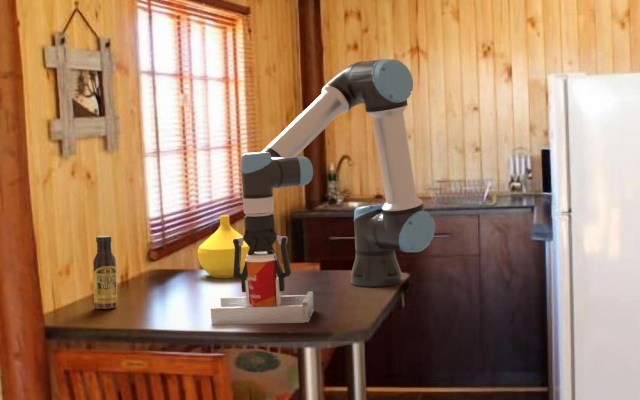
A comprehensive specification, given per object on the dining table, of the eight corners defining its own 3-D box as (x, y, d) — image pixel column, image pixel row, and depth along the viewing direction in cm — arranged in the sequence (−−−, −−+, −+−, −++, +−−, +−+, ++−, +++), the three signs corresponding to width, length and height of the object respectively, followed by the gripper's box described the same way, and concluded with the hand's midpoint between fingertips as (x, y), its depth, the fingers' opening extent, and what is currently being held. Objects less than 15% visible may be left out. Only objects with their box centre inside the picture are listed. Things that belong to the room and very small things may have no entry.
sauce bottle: (97, 311, 253) (92, 238, 251) (92, 307, 259) (87, 236, 257) (121, 308, 256) (116, 236, 254) (115, 304, 262) (110, 233, 260)
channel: (313, 310, 243) (312, 291, 242) (308, 322, 230) (307, 302, 229) (222, 312, 245) (221, 293, 245) (211, 324, 232) (210, 304, 231)
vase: (225, 268, 313) (222, 211, 311) (268, 272, 302) (265, 213, 300) (186, 278, 298) (183, 218, 296) (230, 282, 287) (227, 220, 285)
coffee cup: (247, 309, 241) (244, 252, 240) (279, 307, 242) (276, 250, 240) (248, 317, 233) (244, 257, 231) (281, 314, 234) (277, 255, 232)
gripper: (300, 210, 238) (304, 300, 240) (222, 213, 240) (228, 302, 242) (296, 214, 230) (301, 306, 232) (216, 217, 232) (222, 308, 235)
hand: (264, 304), depth 237 cm, fingers closed on coffee cup, 7 cm apart
